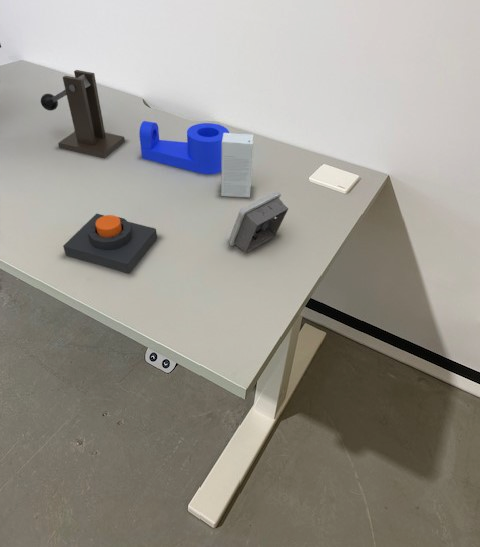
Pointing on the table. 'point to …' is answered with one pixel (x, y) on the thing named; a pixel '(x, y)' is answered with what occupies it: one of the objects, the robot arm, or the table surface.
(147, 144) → the bracket
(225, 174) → the cosmetic box
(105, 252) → the button box
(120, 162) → the table surface
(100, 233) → the button
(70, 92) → the bracket
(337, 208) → the table surface
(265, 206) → the electrical switch
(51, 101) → the lever
